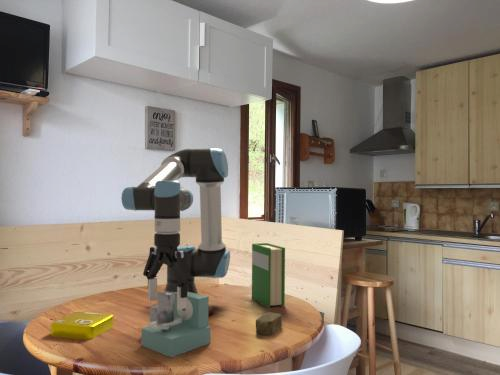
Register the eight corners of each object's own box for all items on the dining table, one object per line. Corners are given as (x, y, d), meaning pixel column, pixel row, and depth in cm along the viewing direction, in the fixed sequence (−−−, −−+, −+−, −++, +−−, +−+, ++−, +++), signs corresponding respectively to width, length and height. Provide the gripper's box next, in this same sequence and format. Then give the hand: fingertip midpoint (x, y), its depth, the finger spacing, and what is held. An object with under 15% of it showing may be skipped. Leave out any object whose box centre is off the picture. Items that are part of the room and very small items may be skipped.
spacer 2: (167, 317, 126) (167, 290, 126) (177, 320, 123) (178, 293, 123) (153, 320, 122) (153, 293, 122) (164, 324, 119) (164, 296, 119)
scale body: (180, 333, 135) (180, 290, 136) (210, 343, 126) (210, 297, 127) (141, 345, 124) (142, 298, 124) (171, 357, 115) (172, 306, 115)
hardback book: (284, 306, 170) (285, 247, 170) (268, 308, 167) (268, 248, 168) (266, 296, 186) (267, 243, 187) (251, 297, 184) (252, 243, 184)
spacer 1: (158, 328, 140) (158, 304, 141) (167, 331, 137) (168, 306, 137) (146, 331, 137) (146, 307, 137) (155, 335, 133) (155, 310, 134)
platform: (173, 325, 127) (173, 315, 127) (182, 328, 124) (182, 318, 124) (149, 332, 120) (149, 322, 120) (157, 336, 118) (157, 325, 118)
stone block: (254, 334, 135) (254, 319, 135) (267, 325, 146) (267, 310, 146) (271, 337, 133) (271, 321, 133) (282, 327, 143) (282, 312, 144)
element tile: (115, 326, 143) (115, 312, 143) (90, 341, 128) (90, 325, 128) (76, 323, 146) (77, 309, 146) (47, 337, 131) (48, 322, 131)
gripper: (132, 230, 128) (131, 299, 128) (185, 237, 112) (184, 315, 112) (152, 228, 134) (151, 294, 134) (205, 234, 118) (204, 309, 118)
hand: (166, 304), depth 123 cm, fingers open, 13 cm apart
